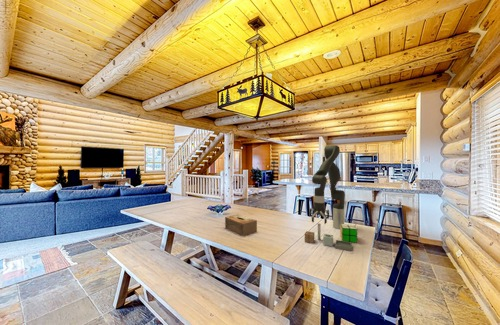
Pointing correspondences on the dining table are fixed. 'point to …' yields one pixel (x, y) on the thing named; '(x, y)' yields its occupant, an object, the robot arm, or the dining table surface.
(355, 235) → the puzzle cube
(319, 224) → the cylinder
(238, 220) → the tissue box cover
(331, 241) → the slate block
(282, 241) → the dining table surface
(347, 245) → the tray
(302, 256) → the dining table surface
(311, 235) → the brown cardboard cube
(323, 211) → the robot arm
